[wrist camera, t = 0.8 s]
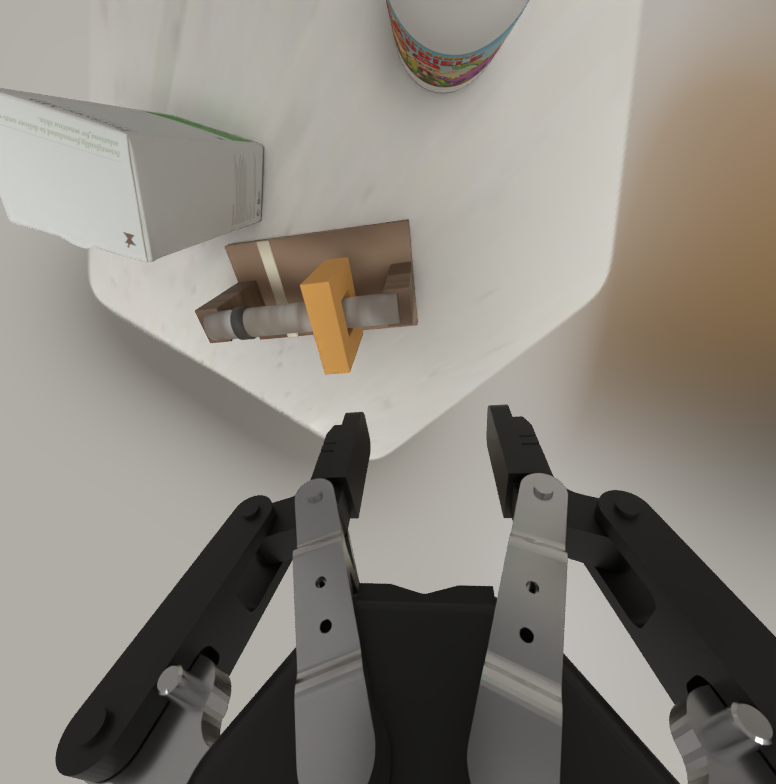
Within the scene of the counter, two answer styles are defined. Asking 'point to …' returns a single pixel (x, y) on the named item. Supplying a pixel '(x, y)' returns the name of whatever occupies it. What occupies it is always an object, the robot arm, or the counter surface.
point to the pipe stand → (295, 263)
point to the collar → (331, 314)
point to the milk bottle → (450, 37)
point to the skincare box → (123, 175)
